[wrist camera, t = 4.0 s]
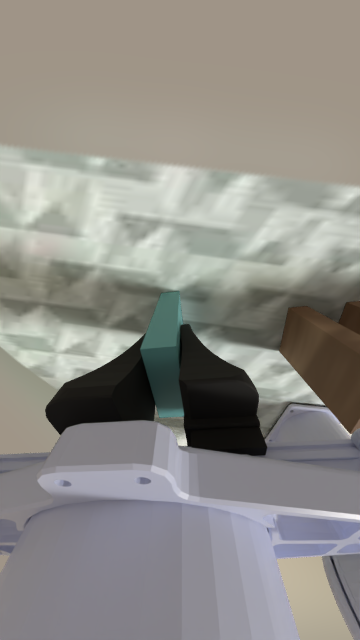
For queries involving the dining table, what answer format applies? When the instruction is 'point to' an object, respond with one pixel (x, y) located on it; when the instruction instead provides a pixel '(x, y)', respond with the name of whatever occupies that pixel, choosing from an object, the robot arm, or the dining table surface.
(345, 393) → the walnut domino
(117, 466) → the robot arm
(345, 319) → the walnut domino
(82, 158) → the dining table surface
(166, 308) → the teal domino
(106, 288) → the dining table surface
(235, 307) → the dining table surface
